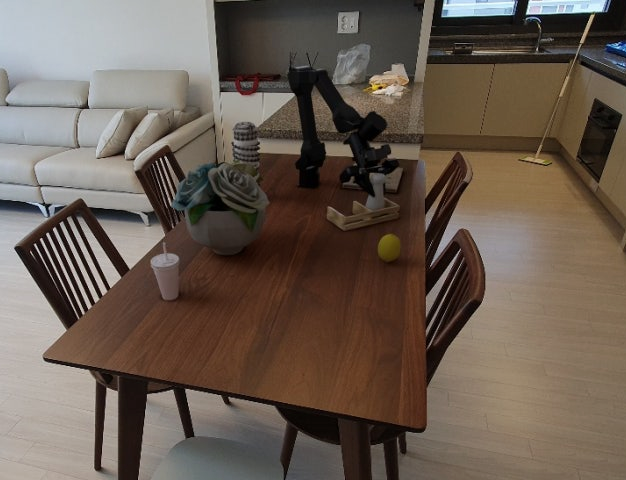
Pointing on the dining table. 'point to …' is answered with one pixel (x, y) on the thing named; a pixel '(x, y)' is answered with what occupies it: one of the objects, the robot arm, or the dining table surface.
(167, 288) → the smoothie
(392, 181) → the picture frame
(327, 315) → the dining table surface
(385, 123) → the robot arm
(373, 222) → the rack
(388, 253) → the lemon
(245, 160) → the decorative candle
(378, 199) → the salt shaker
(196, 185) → the flower arrangement
